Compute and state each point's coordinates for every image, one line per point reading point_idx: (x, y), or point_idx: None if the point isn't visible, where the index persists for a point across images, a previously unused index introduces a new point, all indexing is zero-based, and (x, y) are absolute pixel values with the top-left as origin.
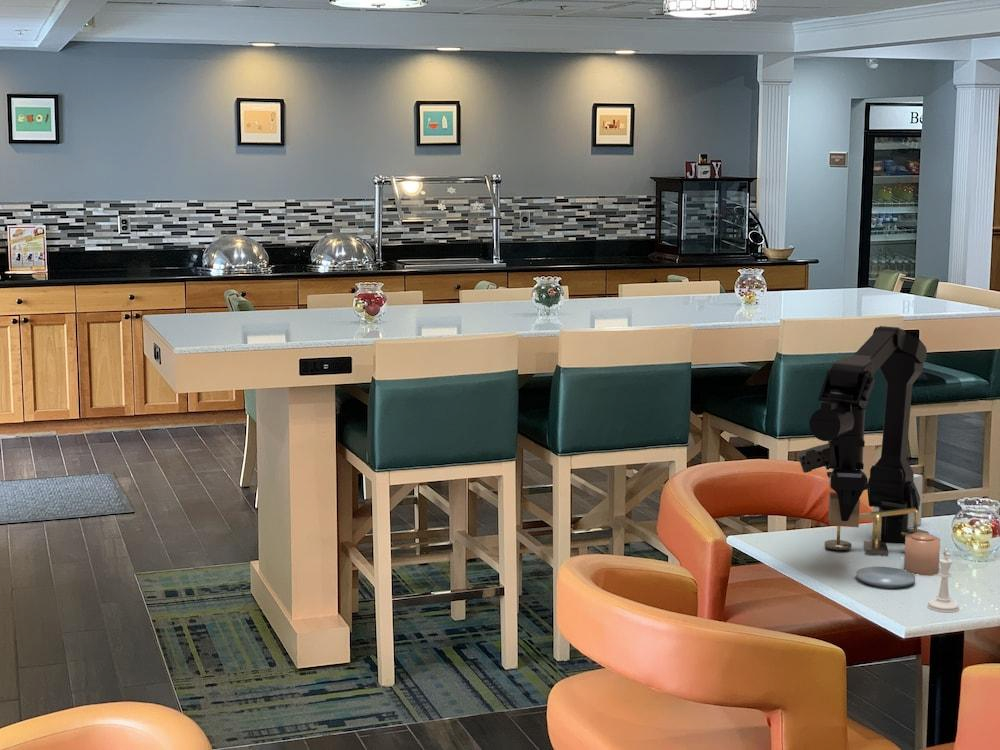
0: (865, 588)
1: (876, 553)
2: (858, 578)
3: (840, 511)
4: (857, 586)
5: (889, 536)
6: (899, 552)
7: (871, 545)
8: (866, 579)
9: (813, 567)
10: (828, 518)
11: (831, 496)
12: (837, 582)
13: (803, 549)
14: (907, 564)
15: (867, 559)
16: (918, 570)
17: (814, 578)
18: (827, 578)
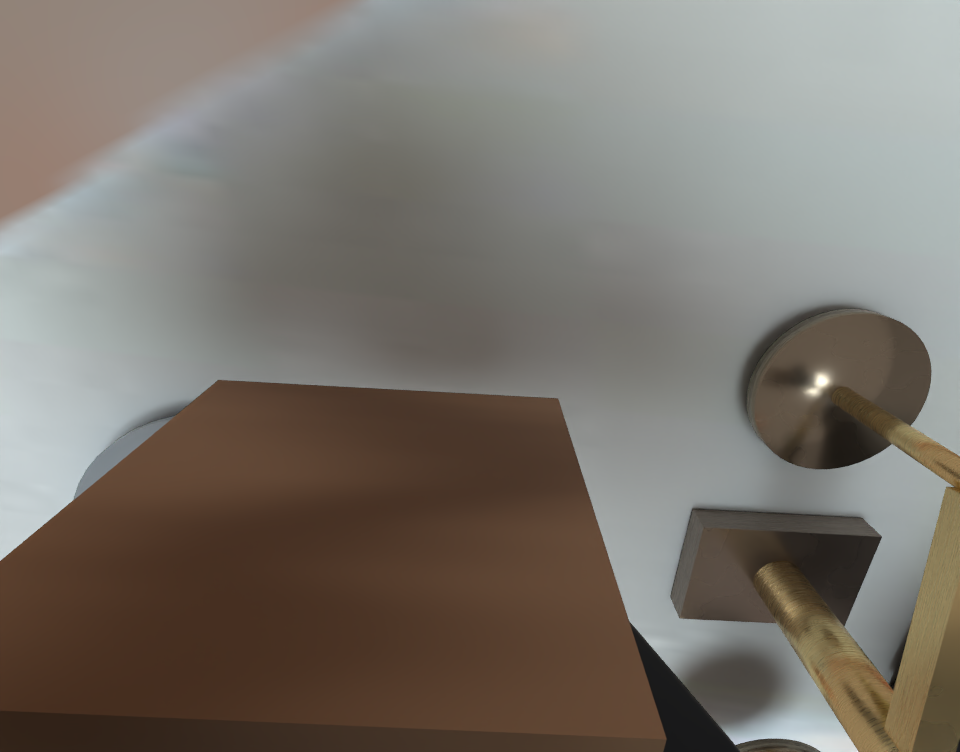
0: (73, 430)
1: (685, 559)
2: (162, 419)
3: None
4: (92, 397)
5: None
6: (737, 646)
7: (789, 560)
8: (100, 457)
9: (401, 184)
10: (527, 402)
11: (122, 737)
12: (123, 300)
13: (833, 157)
14: None
15: (609, 504)
16: None
17: (153, 165)
18: (183, 250)
